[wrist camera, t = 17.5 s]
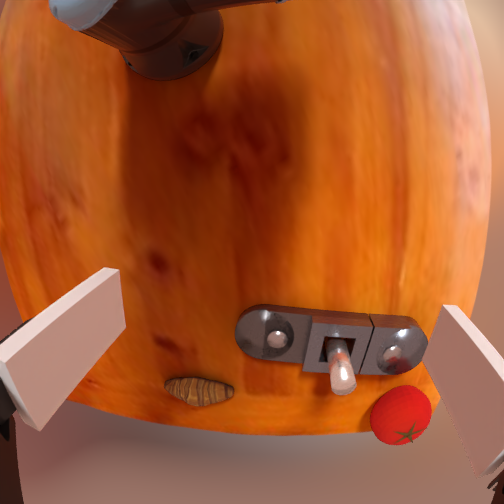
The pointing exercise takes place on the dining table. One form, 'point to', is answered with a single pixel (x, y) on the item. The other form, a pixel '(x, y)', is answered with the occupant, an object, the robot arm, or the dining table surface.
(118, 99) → the dining table surface
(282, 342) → the chain end
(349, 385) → the steel pin
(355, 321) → the chain end
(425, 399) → the tomato
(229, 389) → the croissant
